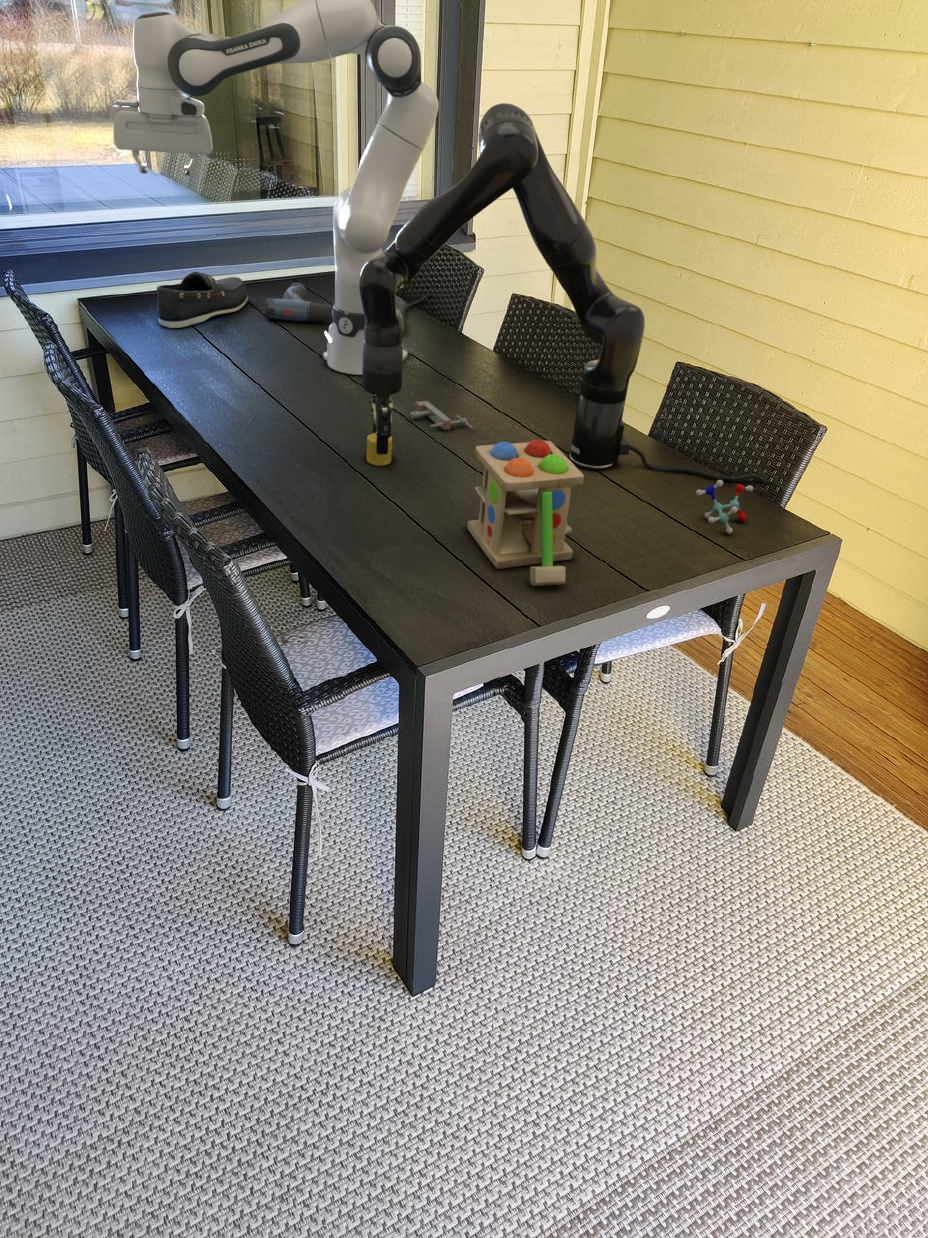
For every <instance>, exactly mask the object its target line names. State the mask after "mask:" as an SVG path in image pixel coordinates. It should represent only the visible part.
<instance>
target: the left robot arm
mask: <svg viewBox="0 0 928 1238" xmlns="http://www.w3.org/2000/svg"><path fill="white" fill-rule="evenodd" d="M132 28H133V29H132V42H133V43H132V45H133V46H132V47H133V59H134V64H135V67H136V71H137V79H136V89H137V90H136V92H137V100H122V99H117V100H115V101H114V102H111V103H110V104H109V107H108V108H109V109H108V111H109V118H110V121H111V122H112V125H113V126H112V134H113V135H112V136H113V140H112V141H113V144H114V147H115V148H116V149H117V150H121V151H131V154H132V157H133V159H134V161H135V162H136V164H137V165H138V170H139V171H138V172H139V174H143V175H145V174H148V169H147V168H148V165H147V163H143V161H142V159H141V157H140V155H141V152H156V153H159V152H160V153H172V154H173V153H176V154H177V153H178V154H188V158H189V160H190V162H189V165H184V171H185V172H184V176H185V177H193V167H194V165H195V162H196V161H197V158H198V157H197V155H210V154H211V153H212V152H213V151H214V145H213V137H212V131H211V130H212V129H211V126H210V123H209V120H208V118H207V117H206V116H205V115H204V114H205V105H204V103H203V102H202V101H200V100H199V99H195V98H193V97H203V96H206V95H208V94H210V93H211V92H213V91H214V90H215V89H216V88H218V86H219V85H220V84H221V83H222V82H223V81H224V80H226V79H228V78H230V77H234V76H236V75H239V74H243V73H247V72H250V71H253V70H257V69H259V68H264V67H267V66H271V65H284V64H285V65H286V64H308V63H316V62H317V63H318V62H323V61H326V60H330V59H335V58H337V57H340V56H341V57H342V56H344V55H351V54H355V55H359V56H362V57H363V59H364V60H365V62H366V64H367V68H368V70H369V73H370V74H371V75H372V77H373V78H374V79H375V80H376V81H377V82H378V83H380V85H381V86H383V88H384V89H385V90H386V92H387V98H386V103H385V106H384V108H383V110H382V112H381V115H380V117H379V119H378V121H377V123H376V126H375V127H374V130H373V131H372V134H371V136H370V138H369V139H368V142H367V145H366V146H365V149H364V151H363V153H362V155H361V158H360V161H359V166H358V169H357V171H356V175H355V177H354V181H353V184H352V186H351V187H347V188H346V189H344V190H343V191H341V192H340V194H338V196H337V197H336V199H335V201H334V204H333V210H332V226H333V227H332V229H333V254H334V255H333V257H334V303H333V305H332V307H333V311H332V314H333V320H332V323H331V324H330V325H329V326H328V332H327V331H326V330H325V331H324V335H325V337H326V339H327V346H326V347H327V348H326V351H324V352H323V353H322V358H323V359H324V360H326V362H327V363H326V365H327V366H328V367H329V368H330V369H332V370H334V371H336V372H339V373H341V374H342V373H343V374H347V375H356V376H362V365H363V347H364V328H365V316H364V312H363V308H362V302H361V297H360V290H359V279H360V273H361V270H362V268H363V266H364V265H365V264H366V263H367V262H368V261H369V260H371V259H373V258H375V257H377V256H379V255H381V254H382V253H383V251H382V250H383V249H382V248H383V247H384V246H385V245H386V243H387V240H388V238H389V233H390V231H391V228H392V225H393V223H394V220H395V218H396V215H397V213H398V210H399V207H400V204H401V202H402V198H403V195H404V193H405V190H406V187H407V184H408V182H409V180H410V178H411V175H412V174H413V173H414V172H413V171H414V170H415V168H416V166H417V164H418V162H419V160H420V157H421V155H422V154H423V151H424V150H425V148H426V145H427V143H428V141H429V138H430V136H431V134H432V130H433V128H434V125H435V122H436V119H437V116H438V112H439V107H440V106H439V105H440V104H439V98H438V97H437V95H436V93H435V92H434V91H433V89H432V88H430V87H429V86H428V85H427V84H426V83H424V82H423V81H422V53H421V49H420V46H419V43H418V41H417V39H416V38H415V36H414V35H413V33H411V32H410V31H409V30H407V29H406V28H405V27H403V26H399V25H396V24H395V25H394V24H393V25H392V24H387V23H385V22H382V21H380V20H379V17H378V14H377V10H376V8H375V5H374V3H373V2H372V0H302V1H299V2H297V3H295V4H293V5H291V6H289V7H287V8H285V9H284V10H282V11H280V13H279V14H278V15H276V16H275V17H274V18H273V19H271V20H270V21H269V22H267V23H266V24H264V25H262V26H260V27H259V28H256V29H254V30H251V31H248V32H244V33H241V34H237V35H233V36H230V37H227V38H223V39H220V40H219V39H218V40H215V39H214V38H213V37H211V36H209V35H207V34H204V33H202V32H199V31H197V30H195V29H193V28H191V27H189V26H188V25H186V24H184V23H183V22H181V21H180V20H179V19H177V18H176V17H175V16H174V15H173V14H172V13H171V12H168V11H156V12H148V13H144V14H141V15H140V16H138V17H137V18H136V19H135V20H134V22H133V27H132ZM182 92H183V93H184V94H183V93H182ZM187 95H189V96H187ZM190 96H192V97H190ZM429 297H430V298H431V299H432V298H434V295H432V296H431V295H430V296H429ZM427 298H428V297H427V295H426V294H425V295H423V296H422V297H421V298H419V299H418V300H415V301H413V302H410V303H408V304H407V305H406V306H404V307H403V309H402V312H401V314H402V319H403V332H402V335H403V334H404V333H405V332H406V330H407V326H406V319H405V314H406V312H407V310H408V309H409V308H411V307H413V306H415V305H417V304H420V303H422V302H423V301H425V300H426V299H427ZM402 349H403V348H402ZM408 353H409V351H407V350H405V349H403V361H405V360H406V359H407V357H408V356H409V354H408Z"/></svg>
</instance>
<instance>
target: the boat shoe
mask: <svg viewBox="0 0 928 1238" xmlns="http://www.w3.org/2000/svg"><path fill="white" fill-rule="evenodd" d="M156 293H157V294H156V295H157V305H156V306H157V308H156V309H155V311H156V313H158V323H159V325H160V326H162V327H166V328H169V329H170V328H171V329H178V328H185V327H188V326H189V327H190V326H192V325H196V324H199V323H203V322H205V321H206V320H209V318H211V317H214V316H218V315H222V314H228V313H234V312H236V311H239V310H240V309H242V308H243V307H244V306H245V305H246V304H247V303H248V301H249V292H248V290H247V286H246V284H245V283H244V281H243V280H242V278H240V277H236V276H231V277H225V278H220V279H217V280H216V279H215V278H214V277H213V276H212V275H210V274H207V273H204V272H199V271H192V272H190V273H188V274H187V275H185V276H184V278H183V279H182V280H181V282H180V283H174V284H162V285H158V286H157V287H156Z"/></svg>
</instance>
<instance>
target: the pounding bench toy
mask: <svg viewBox="0 0 928 1238" xmlns="http://www.w3.org/2000/svg"><path fill="white" fill-rule="evenodd" d="M474 456H475V457H476V459H477V460H478V462H480V464H481V465H482V466H483V476H482V483H481V484H482V485H481V486H477V485H476V486H475V487H474V490H475V491H476V493H477V494H478V496H479V497H480V504H479V515H478V519H472V520H468V521H467V525H466V528H467V530H468V532H469V533H470V534H471V537H473V539H474V540H475V541H476V543H477V544H478V546H479V547H480V548H481V550H482V552H483V553H484V554H485V555H486V557H487V559H489V561H490V562H491V563H492V565H493V566H494V568H495V569H497V570H498V569H507V568H515V567H524V566H529V565H530V567H529V583H530V584H531V585H532V586H533V587H535V586H536V587H537V586H558V585H559V586H561V585H565V583H566V580H567V578H566V576H567V575H566V572H567V571H566V566H563V565H554V562H560V561H567V560H572V559H573V552H574V550H573V549H572V548H571V547H570V546H569V545H568V543H567V542H566V541H565V539H566V534H570V533H572V532H573V529H572V527H571V526H570V525H569V524H568V515H569V508H570V500H571V493H572V486H580V485H583V483H584V479H585V476H584V474H583V472H582V471H580V469H579V468H577V465H575V464H574V463H572V462H571V461H570V459H569V457H567V456H566V455H565V454H564V453H563V452H562V451H561V450H560V449H559V447H558V446H556V445H555V444H554V442H552V441H551V440H543V439H534V440H531V441H527V442H515V443H513V442H512V443H511V442H508V441H500V442H497V443H495V444H488V445H487V444H486V445H485V444H484V445H476V446H475V451H474ZM537 564H541V565H538V566H535V565H537ZM531 565H534V566H531Z"/></svg>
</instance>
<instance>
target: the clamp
mask: <svg viewBox="0 0 928 1238" xmlns="http://www.w3.org/2000/svg"><path fill="white" fill-rule="evenodd" d="M409 415H410V418H411V419H418V418H422V417H427V418H429V419H430V420H431V421H432V422H434V423H433V424H430V425H429V427H430V428H441V429H442V430H443V431H447V430H451V426H454V425H460V426H461V425H465V426H467V427H468V428H470V430H471V431H472V432H473V431H475V430H476V427H475V426H474V425H472V424H470V423H469V422H468V419H467V417H461V416H460V414H455V416H454V418H455V419H456V420H452V419H451V418H450V417H448V416H447V414H445V413H443V412H442V411H441V410H440V409H438V408H437V407H435V406H434V405H433V404H432V403H431V402H430V401H428V400H423V401H415V402H414V410H413V411H410V413H409Z"/></svg>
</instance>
